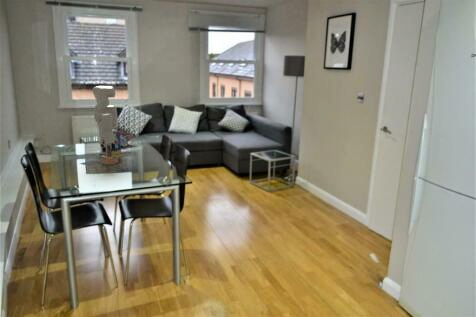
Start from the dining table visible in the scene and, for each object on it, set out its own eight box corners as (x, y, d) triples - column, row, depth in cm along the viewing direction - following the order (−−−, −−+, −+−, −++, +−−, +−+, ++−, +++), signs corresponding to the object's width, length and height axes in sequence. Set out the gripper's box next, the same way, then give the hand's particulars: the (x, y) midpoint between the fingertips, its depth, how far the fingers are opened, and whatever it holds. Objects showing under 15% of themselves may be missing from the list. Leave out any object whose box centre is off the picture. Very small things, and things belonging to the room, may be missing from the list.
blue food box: (106, 158, 317) (104, 132, 312) (119, 156, 323) (117, 131, 318) (108, 159, 312) (106, 133, 307) (121, 158, 317) (119, 132, 312)
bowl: (110, 160, 309) (109, 154, 307) (120, 162, 303) (120, 156, 302) (98, 163, 298) (98, 157, 297) (109, 165, 293) (109, 159, 292)
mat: (92, 160, 308) (92, 160, 308) (103, 162, 302) (103, 162, 302) (79, 164, 297) (79, 163, 297) (90, 166, 291) (90, 165, 291)
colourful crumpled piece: (104, 144, 355) (112, 128, 352) (108, 139, 376) (116, 124, 373) (123, 154, 360) (132, 138, 358) (126, 148, 381) (134, 133, 378)
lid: (109, 154, 309) (109, 147, 307) (122, 156, 302) (121, 148, 301) (96, 157, 297) (95, 150, 295) (109, 159, 290) (108, 152, 289)
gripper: (112, 127, 304) (113, 148, 308) (95, 130, 289) (97, 152, 293) (118, 128, 300) (120, 149, 305) (102, 131, 285) (103, 153, 290)
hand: (108, 150), depth 299 cm, fingers open, 9 cm apart
